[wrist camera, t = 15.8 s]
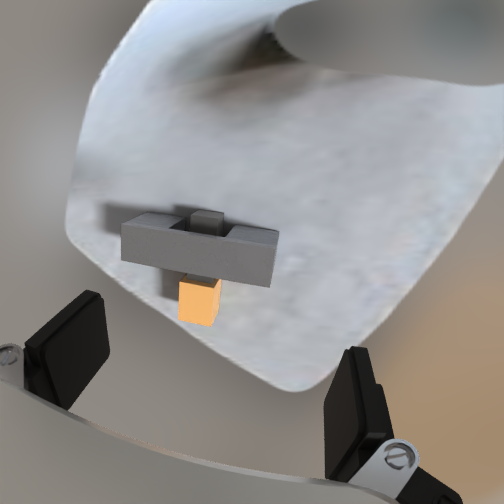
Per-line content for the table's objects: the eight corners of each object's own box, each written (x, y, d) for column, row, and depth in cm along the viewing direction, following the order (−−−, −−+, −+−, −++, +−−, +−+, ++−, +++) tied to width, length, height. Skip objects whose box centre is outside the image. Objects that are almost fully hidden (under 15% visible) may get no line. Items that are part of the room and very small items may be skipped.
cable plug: (194, 208, 36) (183, 215, 32) (228, 213, 36) (220, 221, 32) (188, 304, 40) (178, 319, 36) (218, 310, 40) (210, 326, 36)
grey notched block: (147, 211, 37) (121, 224, 31) (279, 231, 36) (275, 248, 30) (146, 243, 38) (121, 260, 32) (274, 264, 37) (269, 287, 31)
